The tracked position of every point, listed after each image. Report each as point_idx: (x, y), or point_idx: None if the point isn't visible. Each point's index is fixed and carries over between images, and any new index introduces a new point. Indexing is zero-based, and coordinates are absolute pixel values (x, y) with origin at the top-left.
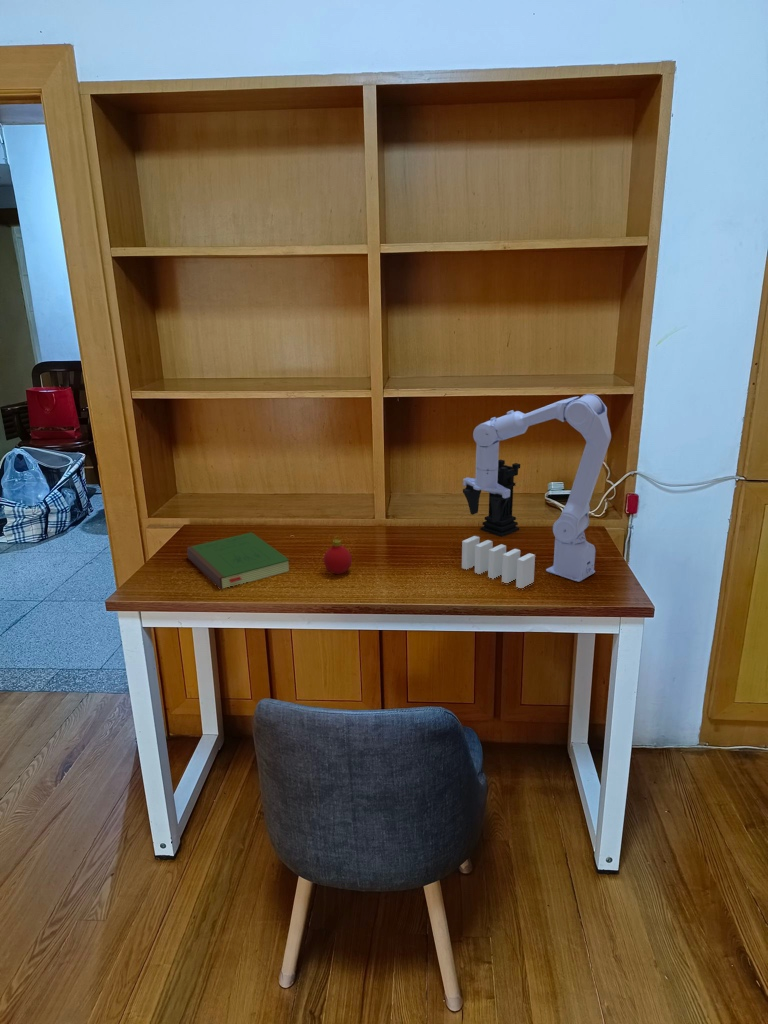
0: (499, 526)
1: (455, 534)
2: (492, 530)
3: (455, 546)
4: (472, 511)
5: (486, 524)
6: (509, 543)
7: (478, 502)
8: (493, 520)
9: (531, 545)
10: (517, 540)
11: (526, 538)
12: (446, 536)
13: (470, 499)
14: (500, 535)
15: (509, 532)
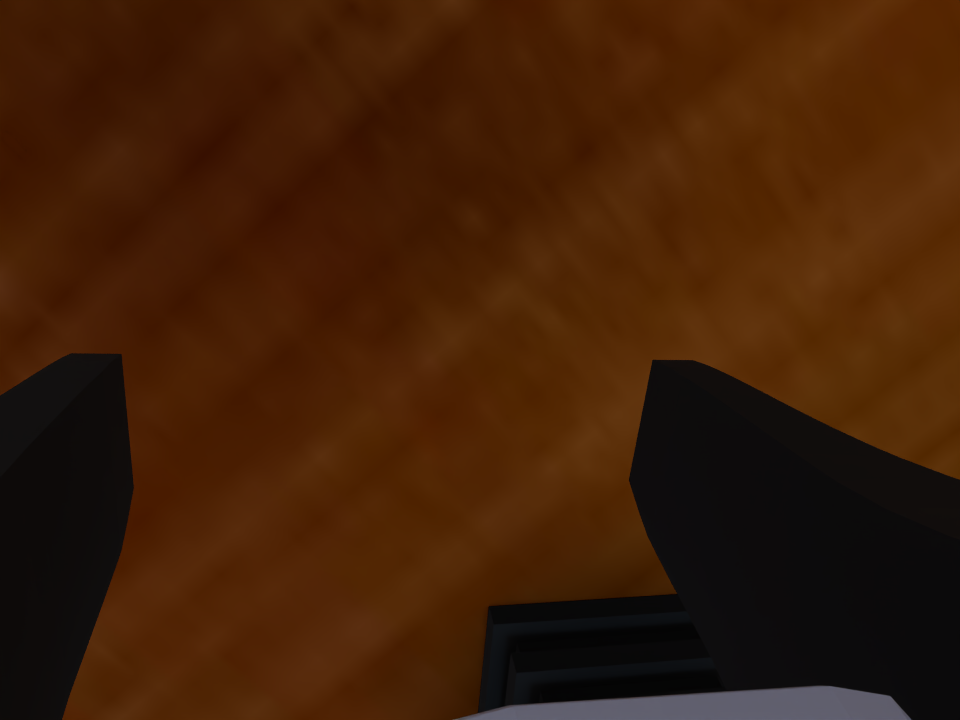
0: (563, 688)
1: (863, 378)
2: (613, 629)
3: (711, 146)
4: (675, 390)
5: (696, 652)
6: (342, 557)
7: (707, 640)
8: (69, 358)
9: (165, 651)
10: (336, 644)
11: (309, 717)
12: (914, 285)
13: (845, 500)
14: (506, 613)
15: (483, 699)
